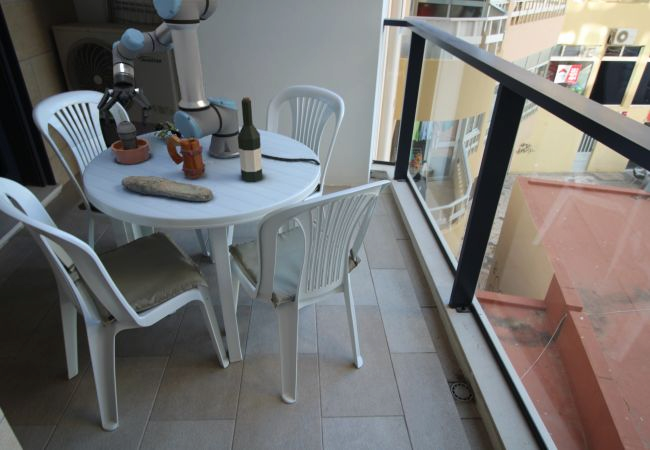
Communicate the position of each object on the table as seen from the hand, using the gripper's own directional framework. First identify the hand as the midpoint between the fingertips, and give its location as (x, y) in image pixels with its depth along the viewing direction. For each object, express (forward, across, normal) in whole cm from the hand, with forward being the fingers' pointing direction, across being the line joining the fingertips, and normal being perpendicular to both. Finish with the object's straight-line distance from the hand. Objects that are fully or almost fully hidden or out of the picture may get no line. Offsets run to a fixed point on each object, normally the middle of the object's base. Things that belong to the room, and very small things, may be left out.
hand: (126, 125), depth 157 cm
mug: (+25, -24, +6) cm, 35 cm away
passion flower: (-2, -14, -21) cm, 25 cm away
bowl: (+10, 0, -8) cm, 13 cm away
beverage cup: (+10, 0, -9) cm, 14 cm away
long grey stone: (+35, -17, +16) cm, 42 cm away
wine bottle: (+30, -47, +11) cm, 57 cm away
